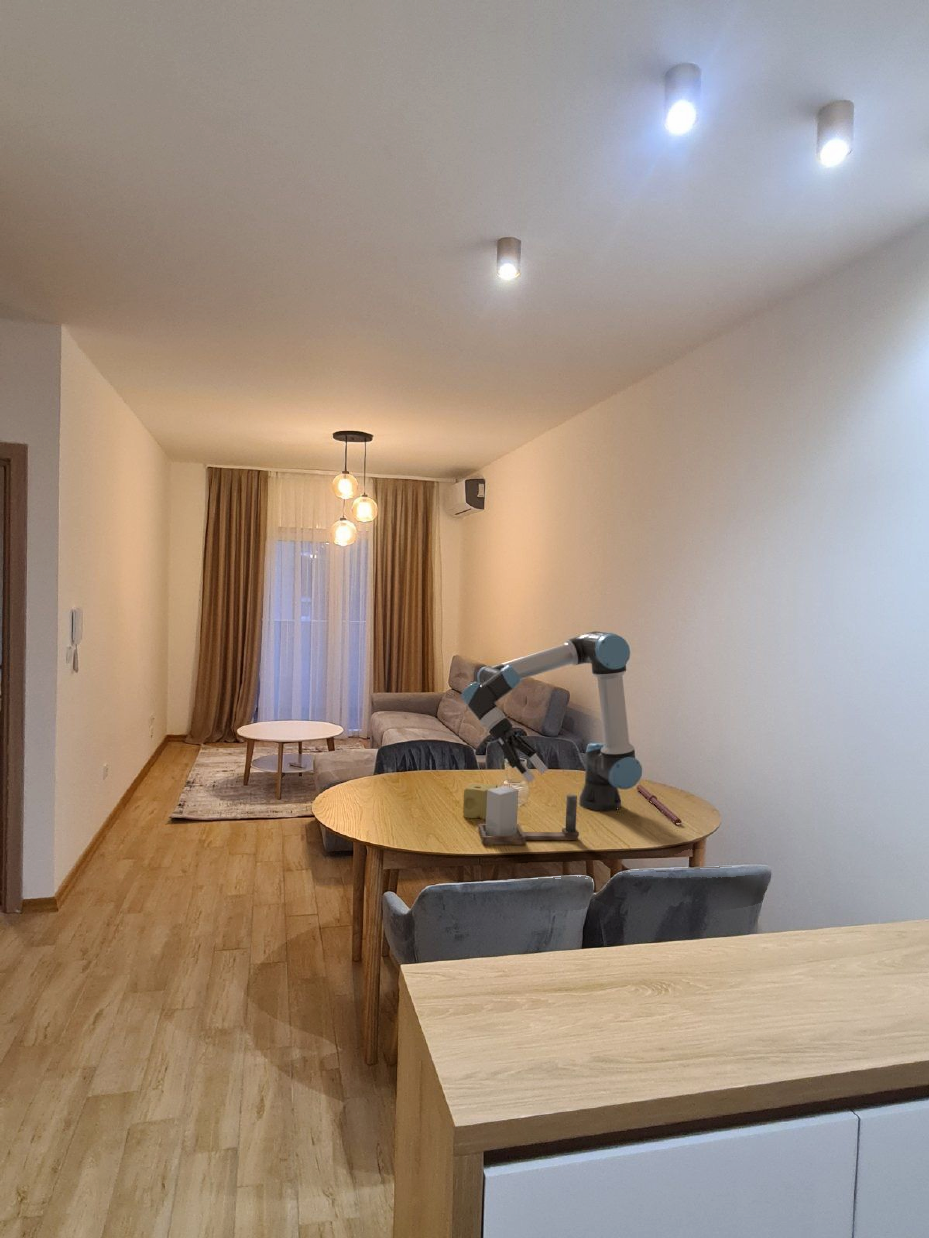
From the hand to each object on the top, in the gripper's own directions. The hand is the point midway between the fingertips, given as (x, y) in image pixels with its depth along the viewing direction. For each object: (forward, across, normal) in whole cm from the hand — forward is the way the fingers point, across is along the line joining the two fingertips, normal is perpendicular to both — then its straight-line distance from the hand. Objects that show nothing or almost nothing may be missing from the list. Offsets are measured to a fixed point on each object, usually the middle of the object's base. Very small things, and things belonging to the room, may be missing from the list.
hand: (538, 776), depth 247 cm
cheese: (-3, -10, -30) cm, 32 cm away
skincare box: (+8, +10, -19) cm, 23 cm away
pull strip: (+13, +6, -13) cm, 19 cm away
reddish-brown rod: (+34, -52, +8) cm, 63 cm away
